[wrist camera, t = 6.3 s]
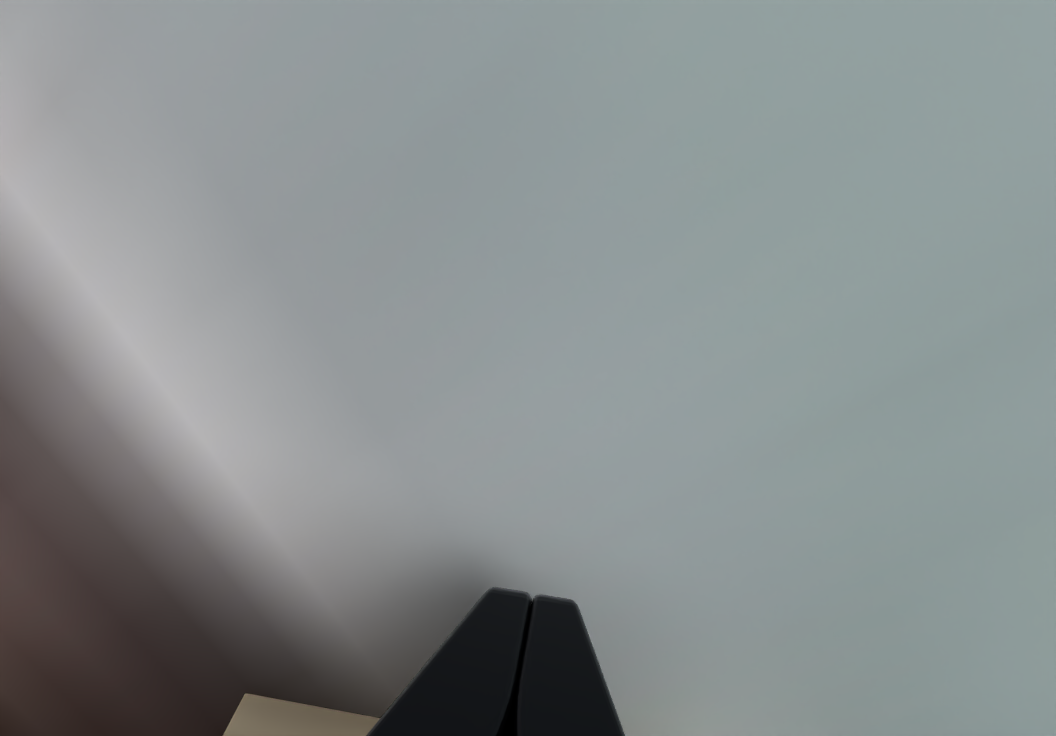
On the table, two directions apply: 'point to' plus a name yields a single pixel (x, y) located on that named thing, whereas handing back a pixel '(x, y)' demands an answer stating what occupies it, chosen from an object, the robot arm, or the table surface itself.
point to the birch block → (294, 719)
